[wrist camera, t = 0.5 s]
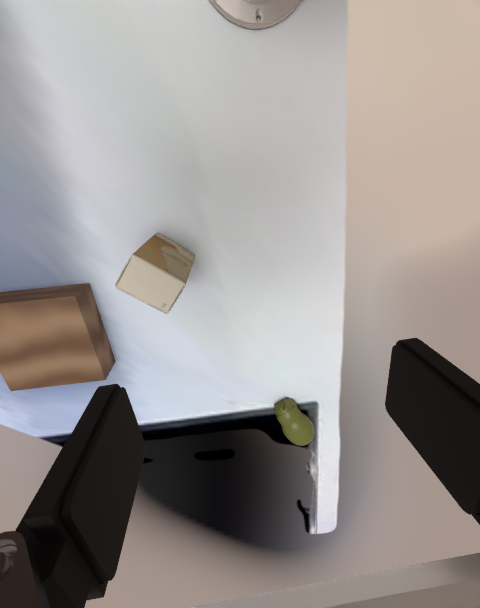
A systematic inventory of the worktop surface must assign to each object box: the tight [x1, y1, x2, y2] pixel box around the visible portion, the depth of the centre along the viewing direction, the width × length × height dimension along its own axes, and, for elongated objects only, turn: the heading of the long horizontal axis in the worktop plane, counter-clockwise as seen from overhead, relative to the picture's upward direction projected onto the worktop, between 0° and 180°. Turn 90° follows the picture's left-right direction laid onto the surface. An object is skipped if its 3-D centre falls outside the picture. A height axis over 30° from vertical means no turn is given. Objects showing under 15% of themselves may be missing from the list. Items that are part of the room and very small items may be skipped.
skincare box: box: [115, 233, 195, 314], centre depth 34 cm, size 6×4×12 cm
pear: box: [274, 398, 314, 446], centre depth 53 cm, size 6×5×10 cm
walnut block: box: [0, 283, 115, 391], centre depth 41 cm, size 14×14×5 cm
